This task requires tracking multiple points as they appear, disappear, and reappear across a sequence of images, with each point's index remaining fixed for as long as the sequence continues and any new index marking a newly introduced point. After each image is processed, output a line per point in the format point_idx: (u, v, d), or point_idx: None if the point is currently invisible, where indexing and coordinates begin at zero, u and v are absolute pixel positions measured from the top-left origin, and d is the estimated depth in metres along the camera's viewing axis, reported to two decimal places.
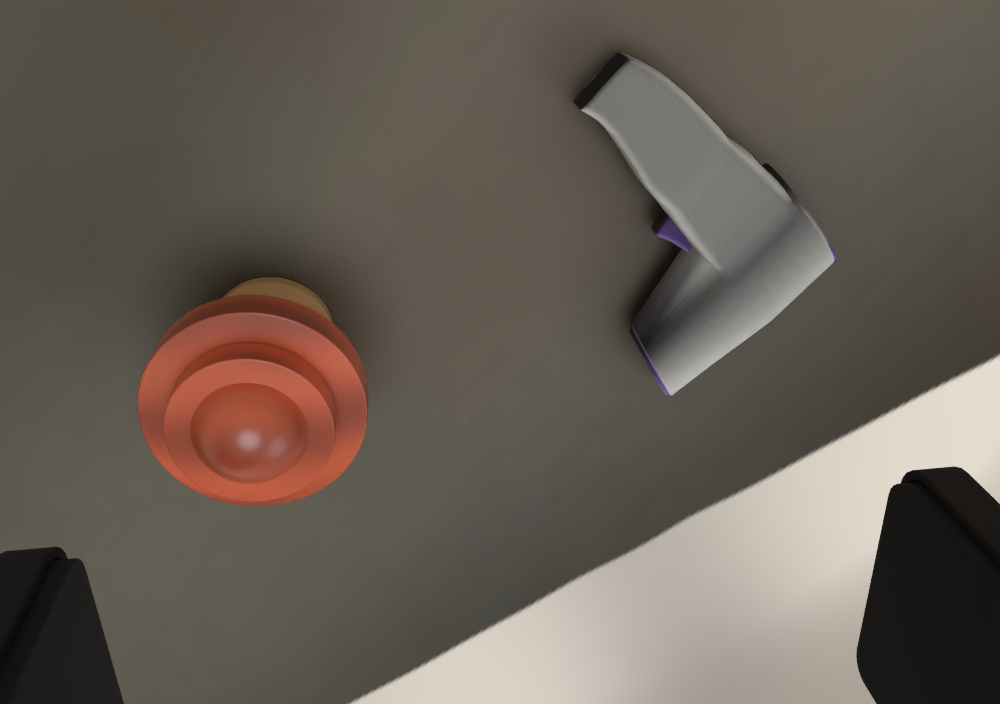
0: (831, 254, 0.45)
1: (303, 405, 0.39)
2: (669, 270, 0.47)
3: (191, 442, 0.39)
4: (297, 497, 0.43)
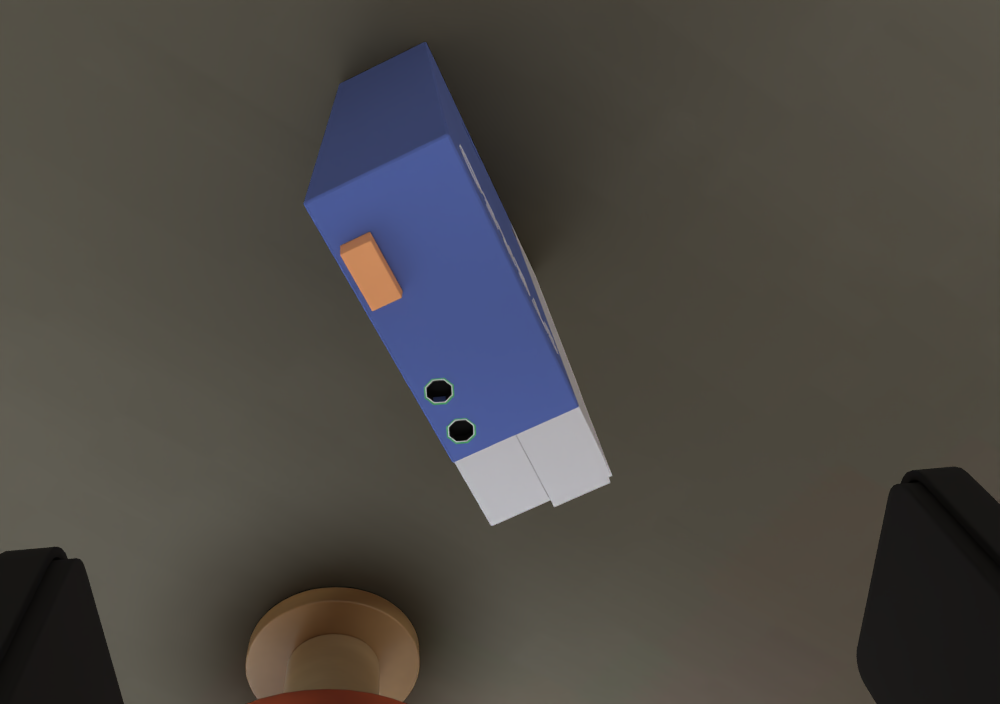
0: None
1: None
2: None
3: None
4: None
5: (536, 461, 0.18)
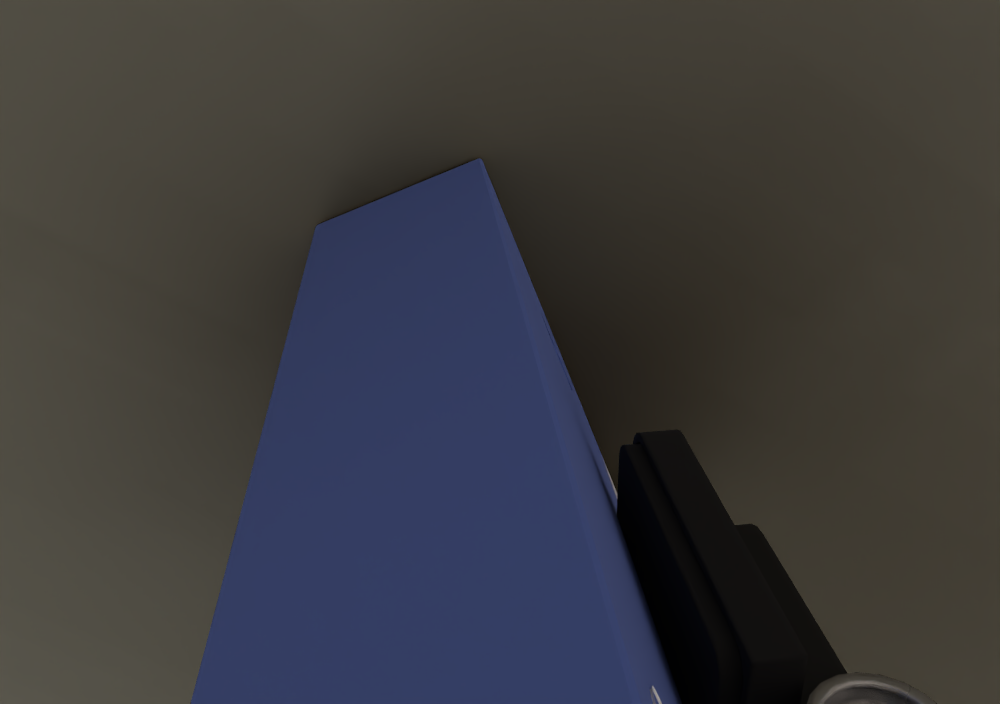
0: None
1: None
2: None
3: None
4: None
5: None
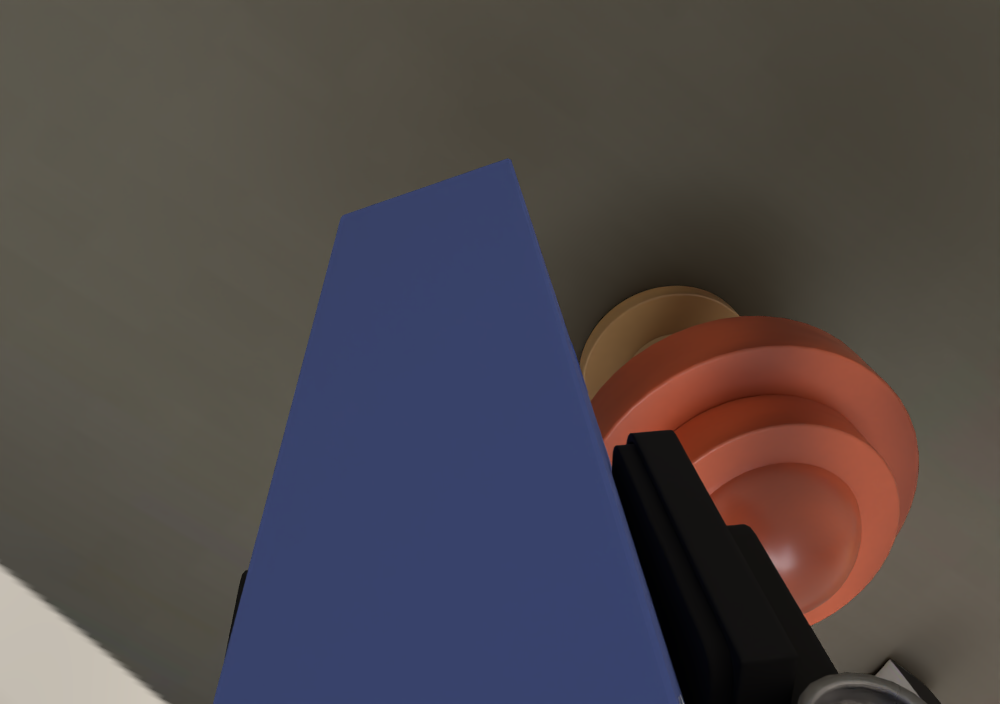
0: None
1: None
2: None
3: (774, 464, 0.23)
4: None
5: None
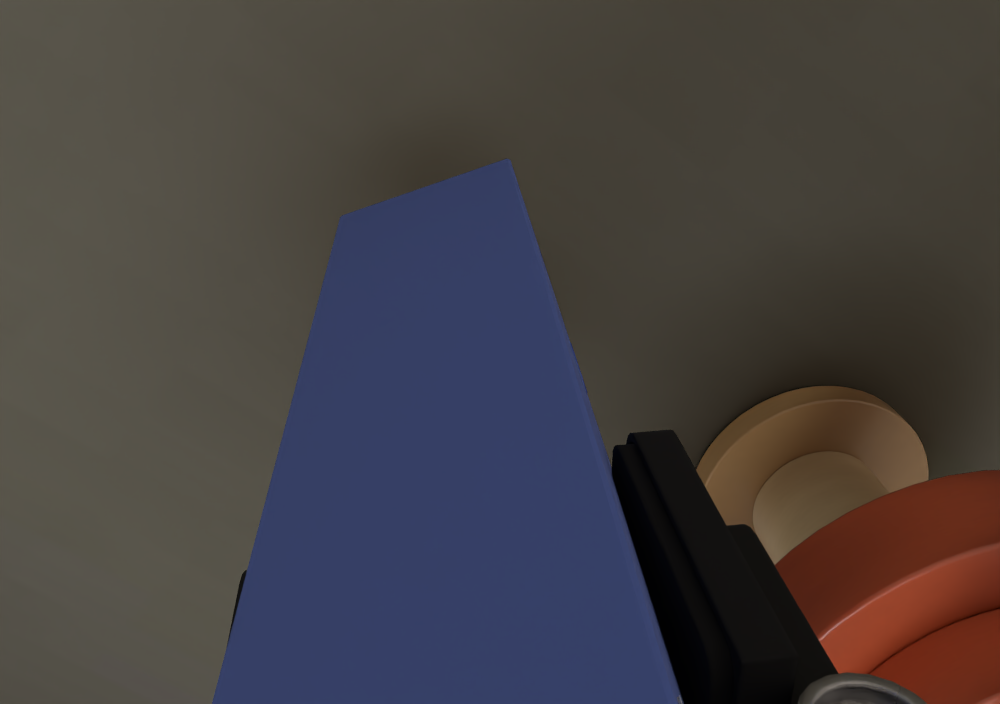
0: None
1: None
2: None
3: None
4: None
5: None
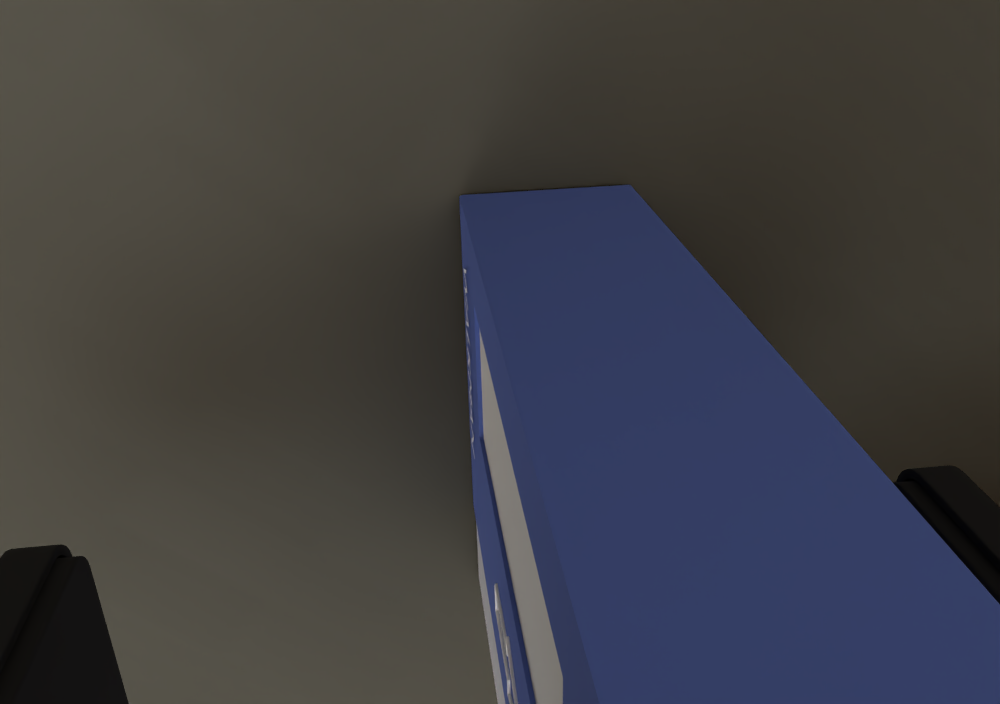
0: None
1: None
2: None
3: None
4: None
5: None
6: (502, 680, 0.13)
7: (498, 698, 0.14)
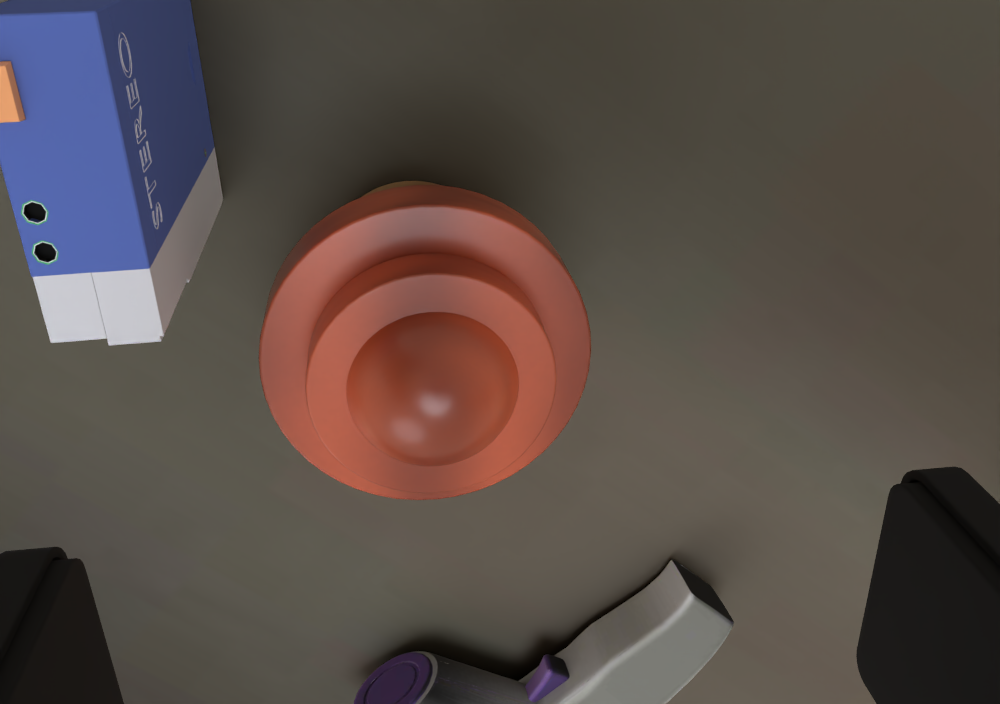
0: None
1: (476, 457, 0.27)
2: (503, 683, 0.43)
3: (422, 312, 0.25)
4: (279, 416, 0.28)
5: (102, 301, 0.22)
6: None
7: None
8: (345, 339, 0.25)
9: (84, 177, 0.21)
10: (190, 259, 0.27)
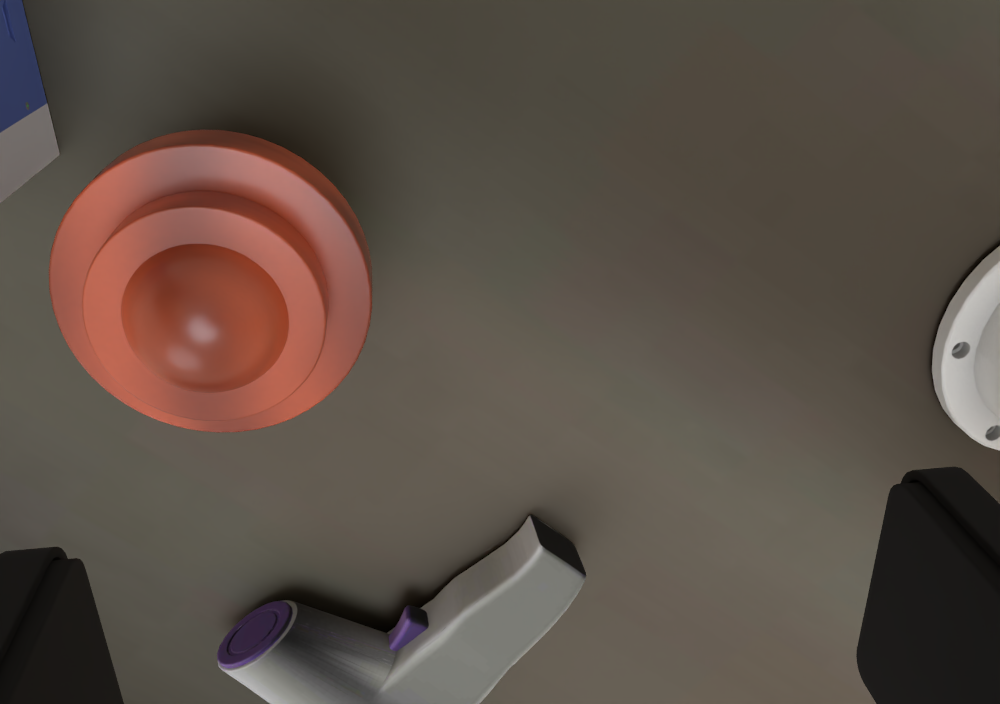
0: None
1: (256, 386, 0.29)
2: (365, 632, 0.45)
3: (185, 244, 0.27)
4: (74, 347, 0.29)
5: None
6: None
7: None
8: (114, 268, 0.27)
9: None
10: None
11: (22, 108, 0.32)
